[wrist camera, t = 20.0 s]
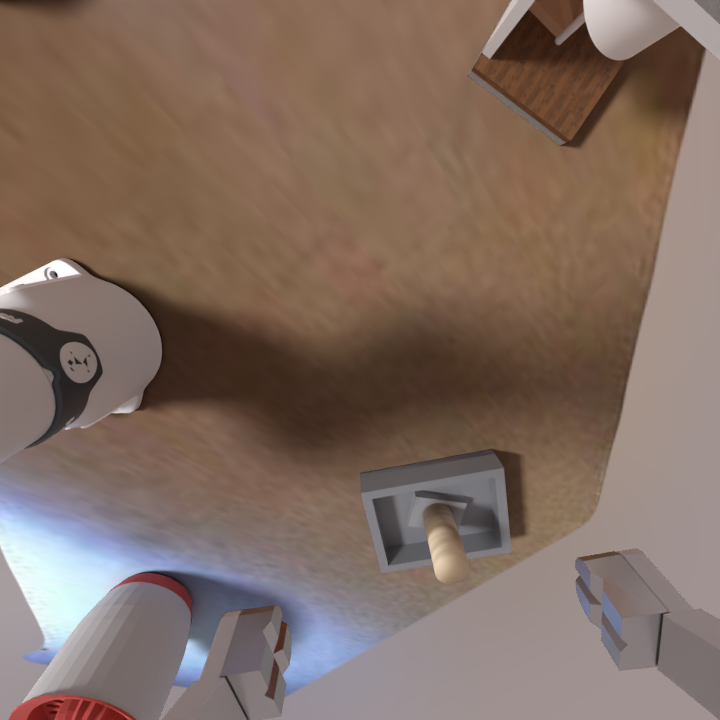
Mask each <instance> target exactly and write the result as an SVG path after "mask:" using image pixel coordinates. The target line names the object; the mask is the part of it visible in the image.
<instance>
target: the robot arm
mask: <svg viewBox="0 0 720 720" xmlns="http://www.w3.org/2000/svg"><path fill="white" fill-rule="evenodd" d="M55 272H56V273H57V275H58V277H56V275H55ZM161 358H162V344H161V338H160V334H159V331H158V329H157V326H156V324H155V322H154V320H153V319H152V317H151V315H150V314H149V313H148V311H147V310H146V309H145V307H144V306H143V305H142V304H141V303H140V302H139V301H138V300H137V299H136V298H135V297H133V296H132V295H131V294H129V293H128V292H127V291H125V290H123V289H122V288H120V287H118V286H116V285H114V284H112V283H109V282H106V281H104V280H101V279H98V278H96V277H94V276H92V275H90V274H89V273H88V272H87V271H86V270H84V269H83V268H82V267H81V266H79V265H78V264H77V263H75V262H74V261H72V260H70V259H66V258H62V259H58V260H55V261H52V262H50V263H48V264H46V265H44V266H42V267H40V268H38V269H36V270H34V271H32V272H30V273H28V274H26V275H24V276H22V277H20V278H18V279H16V280H14V281H12V282H11V283H9V284H7V285H5V286H3V287H1V288H0V464H1V463H2V462H4V461H6V460H7V459H9V458H10V457H12V456H13V455H15V454H16V453H18V452H19V451H21V450H22V449H26V448H30V447H33V446H36V445H38V444H40V443H42V442H43V441H45V440H48V439H50V438H52V437H54V436H55V435H57V434H59V433H60V432H62V431H63V430H64V429H65V430H67V429H72V428H75V427H81V428H87V427H89V426H91V425H93V424H95V423H96V422H98V421H100V420H101V419H103V418H104V417H106V416H108V415H109V414H111V413H131V412H133V411H134V410H136V409H138V408H139V406H140V404H141V401H142V397H143V392H144V389H145V388H146V386H147V385H148V384H149V383H150V382H151V380H152V379H153V378H154V376H155V375H156V373H157V371H158V369H159V366H160V363H161ZM575 568H576V570H577V571H578V573H579V574H580V576H579V577H578V578H577V579H576V591H577V594H578V598H579V601H580V603H581V606H582V608H583V610H584V612H585V614H586V615H587V617H588V618H589V620H590V622H592V623H593V624H595V625H596V626H597V627H599V628H600V629H601V641H602V642H603V644H604V646H605V647H606V649H607V650H608V652H609V654H610V656H611V657H612V659H613V661H614V662H615V664H616V666H617V667H618V669H619V671H621V670H631V669H641V668H650V667H658V668H657V669H658V670H659V671H660V672H662V673H663V674H664V675H665V676H667V677H668V678H669V679H670V680H671V681H673V682H674V683H675V684H676V685H677V686H679V687H680V688H681V689H683V690H684V691H685V692H686V693H687V694H689V695H690V696H691V697H692V698H694V699H695V700H696V701H697V702H698V703H700V704H701V705H702V706H703V707H704V708H706V709H707V710H708V711H709V712H711V713H712V714H713V715H714V716H716V717H717V718H718V719H719V720H720V619H718V618H716V617H714V616H712V615H711V614H709V613H707V612H705V611H704V610H702V609H693V608H692V607H691V606H690V605H689V604H688V603H687V601H686V600H685V599H684V598H683V597H682V596H681V595H680V594H679V593H678V591H677V590H676V589H675V588H674V587H673V586H672V584H671V583H670V582H669V581H668V580H667V579H666V578H665V577H664V576H663V574H662V573H661V572H660V571H659V570H658V569H657V568H656V567H655V565H654V564H653V563H652V562H651V561H650V560H649V559H648V558H647V557H646V555H645V554H644V553H643V552H642V551H640V550H638V549H629V550H623V551H617V552H614V551H613V552H607V553H602V554H596V555H590V556H584V557H579V558H577V559H576V566H575ZM282 616H283V612H282V610H281V608H280V606H279V605H276V606H269V607H261V608H253V609H245V610H238V611H231V612H225V614H224V615H223V617H222V618H221V620H220V623H219V626H218V628H217V631H216V634H215V637H214V640H213V642H212V645H211V648H210V651H209V654H208V657H207V659H206V662H205V665H204V668H203V671H202V673H201V676H200V679H199V681H194V682H193V683H192V684H191V685H190V686H189V688H188V689H187V690H186V691H185V693H184V694H183V695H182V696H181V697H180V698H179V700H178V701H177V702H176V703H175V704H174V705H173V707H172V708H171V709H170V710H169V711H168V713H167V714H166V715H165V716H164V718H163V719H162V720H262V719H268V718H274V717H280V716H281V715H282V708H283V702H284V696H285V690H286V683H285V680H284V678H283V676H282V675H283V674H284V672H285V671H286V669H287V668H288V666H289V665H290V658H291V634H290V630H289V627H288V624H286V623H285V622H283V621H282Z"/></svg>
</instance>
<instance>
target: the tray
mask: <svg viewBox="0 0 720 720" xmlns="http://www.w3.org/2000/svg"><path fill="white" fill-rule="evenodd" d="M360 475H361V496H362V500H363V504H364V508H365V512H366V516H367V519H368V523H369V527H370V531H371V535H372V539H373V543H374V546H375V550H376V554H377V558H378V562H379V566H380V570H381V573H387V572H393V571H400V570H406V569H412V568H418V567H424V566H431V565H433V562H432V557H431V553H430V549H429V544H428V540H427V535H426V531H425V528H419V527H411V526H408V523H407V514H408V510H409V507H410V503H411V499H412V495H413V492H415V491H421V490H425V491H432V492H440V493H448V494H456V495H464V497H465V499H466V502H467V505H466V508H465V511H464V514H463V518H462V521H461V524H460V527H459V530H458V532H459V535H460V538H461V541H462V544H463V547H464V550H465V553H466V556H467V559H474V558H480V557H486V556H492V555H499V554H505V553H511V552H512V551H511V540H510V529H509V518H508V507H507V496H506V485H505V474H504V467H503V466H502V464H501V462H500V461H499V459H498V457H497V456H496V454H495V453H494V451H493V449H491V450H485V451H480V452H474V453H469V454H463V455H458V456H452V457H447V458H441V459H436V460H430V461H425V462H419V463H414V464H408V465H403V466H397V467H391V468H386V469H380V470H375V471H369V472H364V473H360Z"/></svg>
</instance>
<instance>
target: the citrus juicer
mask: <svg viewBox="0 0 720 720" xmlns="http://www.w3.org/2000/svg"><path fill="white" fill-rule="evenodd" d="M191 622H192V599H191V596H190V594H189V593H188V591H187V590H186V588H184V586H182V585H181V584H180V583H179V582H177V581H175V580H173V579H172V578H169V577H167V576H164V575H160V574H153V573H141V574H136V575H133V576H131V577H128V578H127V579H125V580H124V581H122V582H121V583H120V584H118V585H117V586H116V587H114V588H113V589H112V590H111V591H110V592H109V593H108V594H107V595H106V596H105V597H104V598H103V599H102V600H100V601H99V602H98V603H97V604H96V606H95V607H94V608H93V609H92V610H91V611H90V612H89V613H88V614H87V615H86V616H85V617H84V618H83V619H82V621H81V622H80V623H79V624H78V626H77V627H76V628H75V630H74V631H73V632H72V633H71V635H70V636H69V638H68V639H67V640H66V642H65V643H64V645H63V646H62V647H61V649H60V650H59V652H58V653H57V654H56V656H55V657H54V659H53V660H52V661H51V663H50V664H49V666H48V667H47V669H46V670H45V671H44V673H43V674H42V676H41V677H40V678H39V680H38V681H37V683H36V684H35V685H34V687H33V689H32V690H31V691H30V692H29V694H28V695H27V697H26V698H25V700H24V701H23V703H22V704H21V705H19V706H18V707H17V708H16V709H15V710H14V711H13V712H12V713H11V716H10V718H9V720H159V717H160V715H161V712H162V710H163V708H164V705H165V703H166V700H167V698H168V695H169V693H170V690H171V688H172V685H173V683H174V681H175V678H176V676H177V673H178V670H179V668H180V665H181V662H182V659H183V656H184V653H185V649H186V645H187V641H188V637H189V631H190V625H191Z"/></svg>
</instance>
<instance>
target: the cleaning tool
mask: <svg viewBox="0 0 720 720" xmlns="http://www.w3.org/2000/svg"><path fill="white" fill-rule="evenodd" d="M466 505H467V502H466V499H465V497H464V495H456V494H448V493H440V492H432V491H425V490H421V491H415V492H413V495H412V499H411V503H410V507H409V510H408V514H407V523H408V526H411V527H419V528H425V531H426V535H427V540H428V544H429V549H430V553H431V557H432V562H433V566H434V571H435V575H436V577H437V578H438V579H439V580H440V581H441V582H444V583H447V584H455V583H459V582H461V581H463V580H465V579H466V578H467V577H468V576H469V574H470V570H471V569H470V565H469V562H468V559H467V556H466V553H465V550H464V547H463V544H462V541H461V538H460V535H459V532H458V530H459V527H460V524H461V521H462V518H463V514H464V511H465V508H466Z"/></svg>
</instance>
